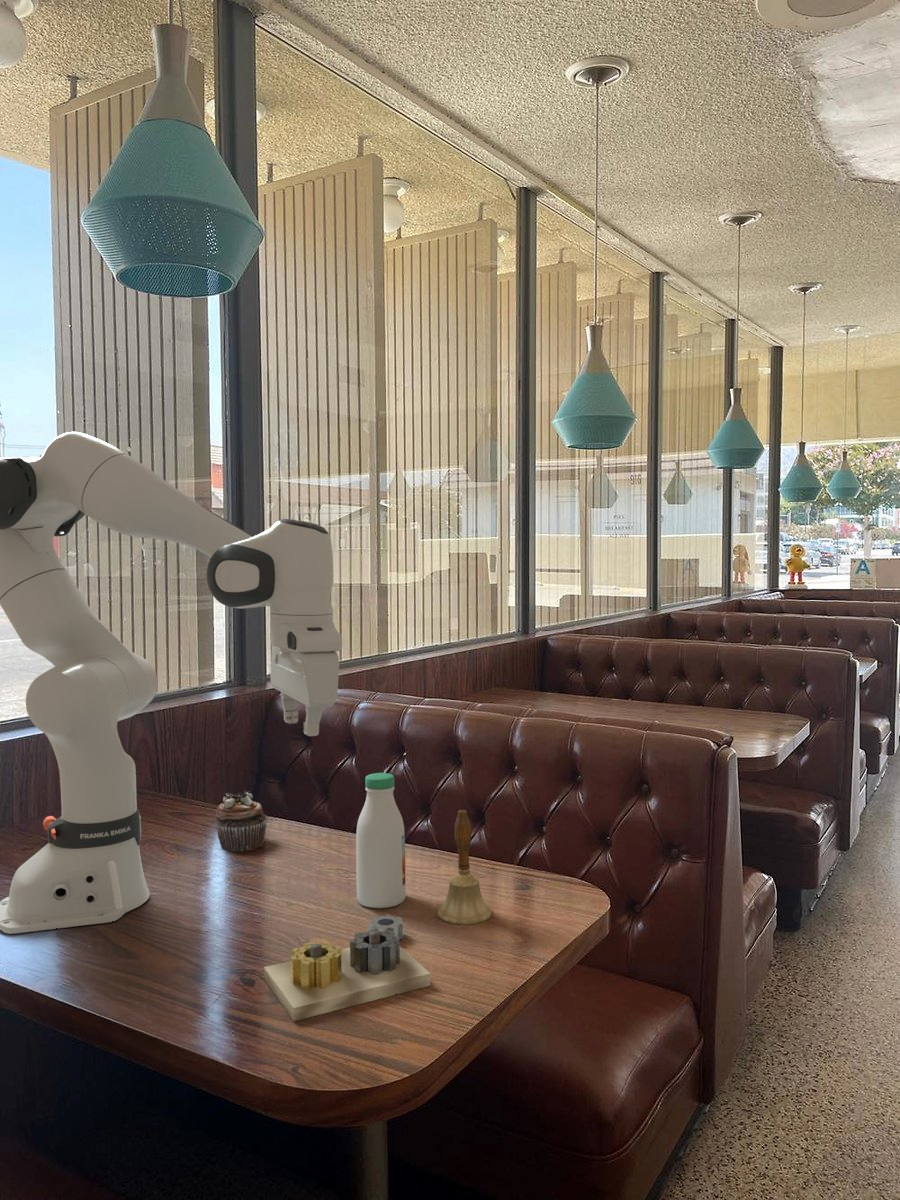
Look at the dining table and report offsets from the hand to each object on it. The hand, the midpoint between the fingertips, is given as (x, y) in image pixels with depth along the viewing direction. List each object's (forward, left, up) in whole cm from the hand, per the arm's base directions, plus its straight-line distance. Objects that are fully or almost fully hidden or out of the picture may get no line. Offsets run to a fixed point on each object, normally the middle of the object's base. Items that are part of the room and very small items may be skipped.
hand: (300, 728), depth 130 cm
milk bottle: (+15, +5, -30) cm, 34 cm away
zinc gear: (+10, -8, -30) cm, 32 cm away
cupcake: (+3, +43, -30) cm, 52 cm away
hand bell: (+24, -6, -30) cm, 39 cm away
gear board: (0, -18, -30) cm, 35 cm away
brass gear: (-4, -18, -28) cm, 34 cm away
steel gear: (+4, -18, -28) cm, 34 cm away
